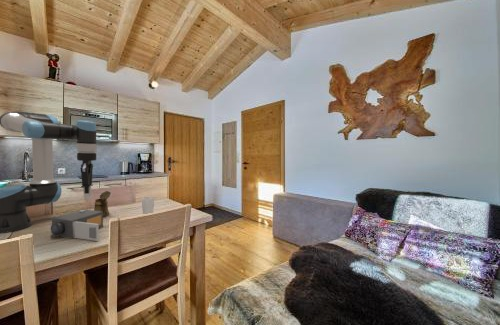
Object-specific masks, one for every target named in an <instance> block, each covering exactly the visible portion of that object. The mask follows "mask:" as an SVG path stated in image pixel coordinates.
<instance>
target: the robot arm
mask: <svg viewBox="0 0 500 325" xmlns="http://www.w3.org/2000/svg"><path fill="white" fill-rule="evenodd" d="M0 127H1V128H2V129H4V130H6V131H10V132H13V133H15V132H16V133H22V134H23V136H24V137H26V138H30V139H31V149H32V154H31V155H32V180H30V181H29V185H28V186H26V185H25V184H14V185H13V184H12V185H7V186H3V187H0V232H5V233H8V232H7V231H12V232H15V231H20V230H23V229H27V228H29V227H31V226H32V220H31V217H30V216H29V214H28V213H27V208H29V207H34V206H39V205H46V204H51V203H56V202H57V201H59V199H61V196H62V186H61V184H60V183H58V182H57V180H56V179H54V156H53V155H54V154H53V153H54V151H53V146H54V145H53V140H71V141H76V145H75V148H76V152H77V153H76V160H77V161H81V162H82V164H81V165H80V175H81V185H80V186H81V188H83V201H85V200H86V201H89V200H92V186H93V185H94V184H93V172H94V171H93V170H94V168H93V167H94V164H93V162H92V161H97V129H98V128H97V123H96V122H94V121H91V120H79V119H77V121H76V124H67V123H60V121H59V120H58V118H57V117H56V116H54V115H49V114H45V113H35V112H27V111H20V110H18V111H17V110H16V111H15V110H14V111H7V112H5V113H3V114H1V115H0Z"/></svg>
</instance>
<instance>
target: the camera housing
mask: <svg viewBox="0 0 500 325" xmlns="http://www.w3.org/2000/svg"><path fill="white" fill-rule="evenodd" d="M74 221H77V222H86V223H94V224H99V229H101V228H103V227H104V217H103V212H101V211H94V209H84V208H83V209H80V210H77V211H72V212H69V213H66V214H61V215H57V216H53V217H51V225H50V232H51V235H52V236H56V237H62V238H66V239H67V238H69V239H74V238H73V222H74Z"/></svg>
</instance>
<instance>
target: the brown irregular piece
mask: <svg viewBox="0 0 500 325" xmlns="http://www.w3.org/2000/svg"><path fill="white" fill-rule="evenodd" d="M110 196H111V192H110V191H108V190H105V191H104V192H101V194H100V195H99V198H96V199H95V201H94V209H93V211H101V212H103V218H106V217H108V216H110V212H109V205H108V203H109V202H108V200H107V199H108V198H110Z"/></svg>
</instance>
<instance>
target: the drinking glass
mask: <svg viewBox="0 0 500 325" xmlns="http://www.w3.org/2000/svg"><path fill="white" fill-rule="evenodd" d="M154 206H155V197H154V196H150V195H148V196H143V197H142V198H141V207H142V209H141V210H142V215H143V214H148V213H153V214H154Z"/></svg>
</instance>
